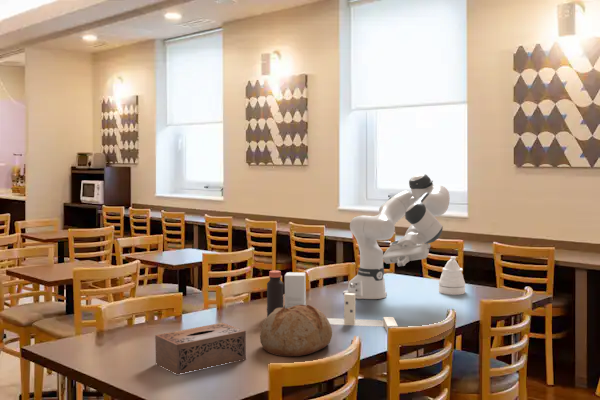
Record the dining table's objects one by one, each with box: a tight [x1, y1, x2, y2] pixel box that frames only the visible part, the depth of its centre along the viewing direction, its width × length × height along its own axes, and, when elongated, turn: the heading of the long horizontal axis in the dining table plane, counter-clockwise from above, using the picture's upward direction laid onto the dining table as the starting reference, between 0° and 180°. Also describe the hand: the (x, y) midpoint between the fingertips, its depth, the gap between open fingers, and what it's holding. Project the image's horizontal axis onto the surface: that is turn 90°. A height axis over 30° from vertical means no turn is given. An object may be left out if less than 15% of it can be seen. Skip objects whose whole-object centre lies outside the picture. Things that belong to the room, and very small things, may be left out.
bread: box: [259, 304, 333, 357], centre depth 238 cm, size 26×23×15 cm
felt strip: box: [326, 317, 385, 328], centre depth 272 cm, size 36×10×1 cm, turn 80°
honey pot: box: [438, 256, 466, 296], centre depth 334 cm, size 13×13×18 cm
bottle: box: [266, 269, 284, 318], centre depth 279 cm, size 7×7×20 cm
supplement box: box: [284, 271, 307, 309], centre depth 302 cm, size 9×9×15 cm
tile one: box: [382, 316, 399, 332], centre depth 262 cm, size 3×4×12 cm
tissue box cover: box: [154, 322, 247, 374], centre depth 221 cm, size 26×14×10 cm, turn 129°
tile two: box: [343, 293, 356, 324], centre depth 270 cm, size 3×4×12 cm
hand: (400, 264), depth 284 cm, fingers closed
